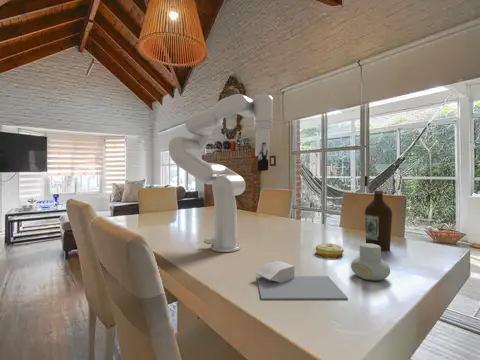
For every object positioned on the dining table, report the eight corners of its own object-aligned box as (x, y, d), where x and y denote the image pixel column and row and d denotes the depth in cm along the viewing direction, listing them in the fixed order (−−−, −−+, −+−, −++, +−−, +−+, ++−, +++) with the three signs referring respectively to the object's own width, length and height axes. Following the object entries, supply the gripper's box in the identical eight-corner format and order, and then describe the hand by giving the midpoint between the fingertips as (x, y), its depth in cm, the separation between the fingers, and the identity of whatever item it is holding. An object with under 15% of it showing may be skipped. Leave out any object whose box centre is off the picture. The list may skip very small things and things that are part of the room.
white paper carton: (278, 260, 88) (254, 266, 82) (294, 265, 82) (270, 272, 76) (278, 271, 88) (254, 278, 82) (294, 278, 82) (270, 286, 76)
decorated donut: (347, 254, 110) (347, 245, 109) (336, 260, 102) (336, 250, 102) (323, 249, 117) (323, 240, 117) (311, 254, 109) (311, 245, 109)
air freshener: (346, 274, 87) (346, 243, 87) (363, 270, 91) (363, 240, 91) (378, 286, 77) (378, 251, 77) (395, 281, 81) (395, 247, 81)
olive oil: (376, 244, 125) (376, 189, 125) (397, 250, 116) (398, 191, 115) (358, 246, 121) (359, 190, 121) (379, 252, 111) (380, 191, 111)
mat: (261, 299, 69) (261, 298, 69) (256, 277, 84) (256, 276, 84) (347, 299, 69) (347, 297, 69) (328, 277, 84) (328, 276, 84)
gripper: (252, 130, 117) (252, 170, 117) (254, 123, 99) (254, 170, 100) (269, 131, 117) (269, 171, 117) (275, 123, 99) (275, 170, 100)
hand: (262, 170), depth 108 cm, fingers open, 9 cm apart
